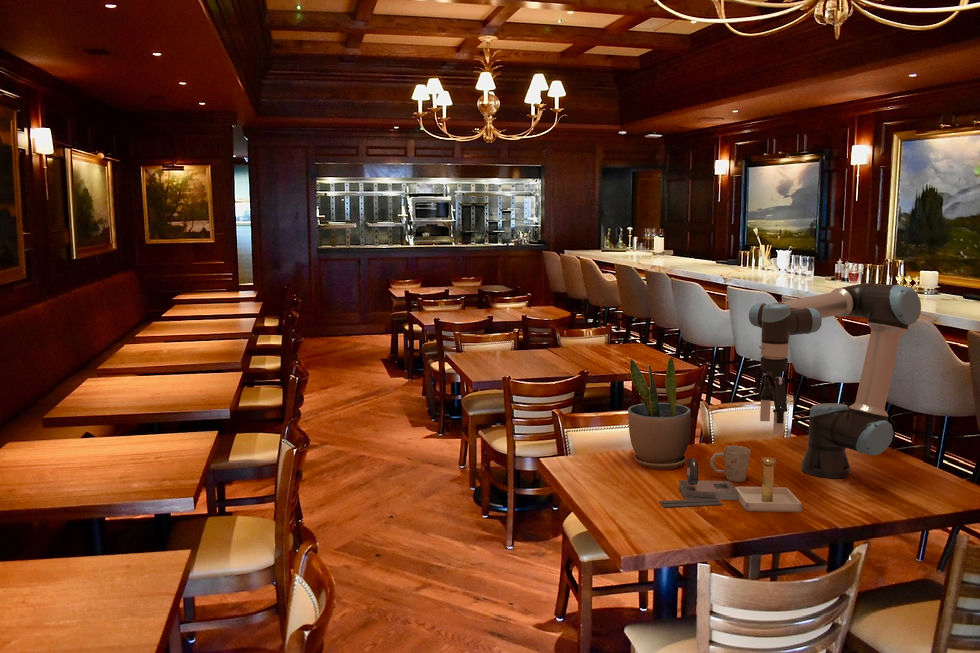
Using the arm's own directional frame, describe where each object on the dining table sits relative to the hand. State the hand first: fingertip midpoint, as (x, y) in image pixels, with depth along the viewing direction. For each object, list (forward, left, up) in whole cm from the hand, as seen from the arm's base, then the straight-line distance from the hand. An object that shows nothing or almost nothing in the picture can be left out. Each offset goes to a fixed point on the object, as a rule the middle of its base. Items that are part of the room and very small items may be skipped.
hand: (771, 427), depth 235 cm
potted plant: (+27, -37, -24) cm, 52 cm away
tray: (0, 0, -23) cm, 23 cm away
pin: (0, 0, -23) cm, 23 cm away
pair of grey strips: (+23, +2, -23) cm, 33 cm away
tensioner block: (+16, -7, -23) cm, 29 cm away
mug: (+6, -22, -24) cm, 33 cm away
